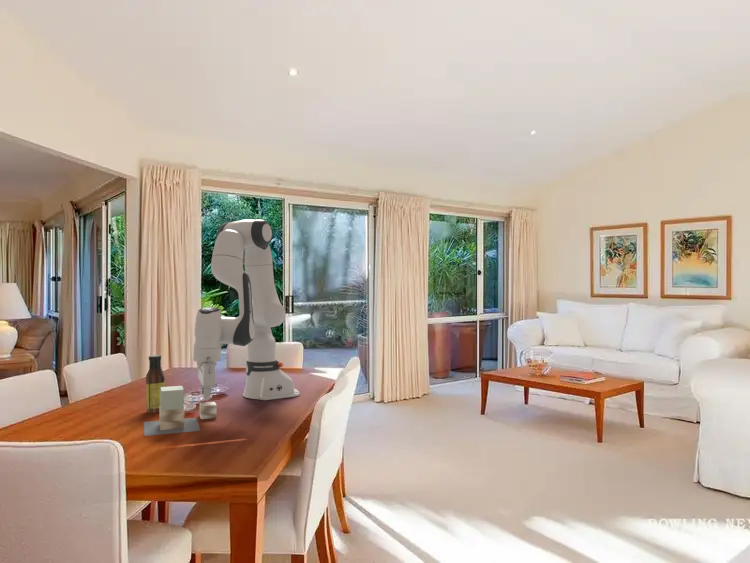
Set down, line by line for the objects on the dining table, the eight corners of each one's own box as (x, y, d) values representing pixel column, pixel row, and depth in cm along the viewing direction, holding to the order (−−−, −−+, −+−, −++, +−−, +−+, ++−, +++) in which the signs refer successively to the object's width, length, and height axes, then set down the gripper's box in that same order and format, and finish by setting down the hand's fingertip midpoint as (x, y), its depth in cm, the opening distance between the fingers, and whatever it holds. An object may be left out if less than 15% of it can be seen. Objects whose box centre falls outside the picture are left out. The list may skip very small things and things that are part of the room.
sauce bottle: (169, 410, 192) (169, 355, 192) (156, 414, 186) (157, 357, 186) (154, 408, 194) (154, 353, 194) (141, 413, 188) (142, 356, 188)
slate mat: (195, 419, 181) (195, 417, 181) (200, 432, 167) (200, 430, 167) (143, 423, 175) (143, 422, 175) (144, 437, 160) (144, 435, 160)
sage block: (181, 404, 175) (182, 385, 175) (183, 408, 169) (183, 389, 169) (160, 405, 172) (160, 387, 172) (161, 410, 166) (161, 391, 166)
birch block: (182, 422, 175) (182, 403, 175) (184, 428, 169) (184, 408, 169) (159, 424, 172) (159, 405, 172) (160, 430, 166) (160, 410, 166)
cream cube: (214, 416, 186) (214, 401, 186) (216, 419, 182) (216, 405, 182) (199, 417, 184) (199, 402, 184) (200, 421, 180) (201, 406, 180)
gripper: (220, 359, 174) (218, 402, 174) (213, 351, 193) (211, 390, 193) (200, 360, 172) (198, 403, 171) (194, 351, 190) (193, 390, 190)
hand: (205, 396), depth 182 cm, fingers open, 8 cm apart
